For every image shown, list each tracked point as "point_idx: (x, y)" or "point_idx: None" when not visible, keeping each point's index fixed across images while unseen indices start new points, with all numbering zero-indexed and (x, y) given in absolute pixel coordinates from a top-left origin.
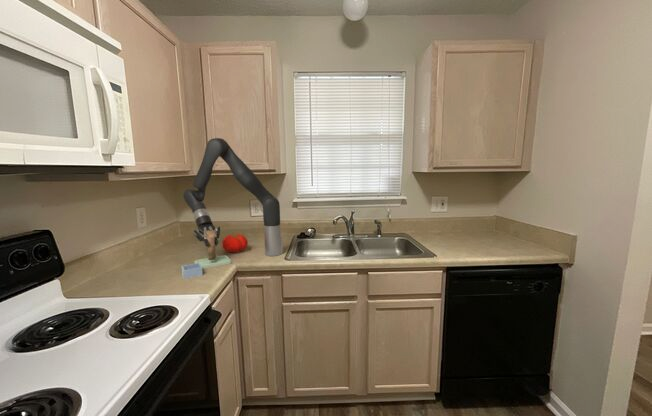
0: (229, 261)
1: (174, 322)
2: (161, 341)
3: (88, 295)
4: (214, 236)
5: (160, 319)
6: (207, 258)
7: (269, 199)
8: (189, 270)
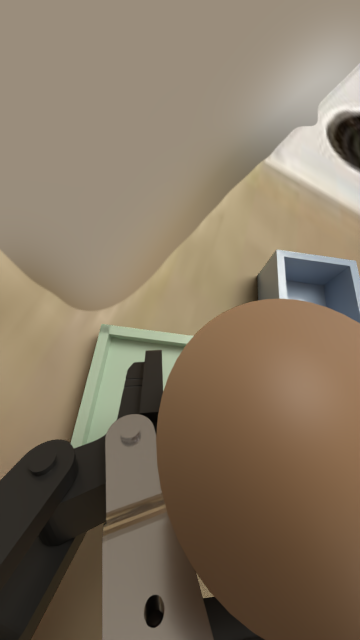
0: (112, 326)
1: (331, 111)
2: (344, 86)
3: None
4: (152, 432)
5: (356, 130)
6: None
7: None
8: (327, 259)
